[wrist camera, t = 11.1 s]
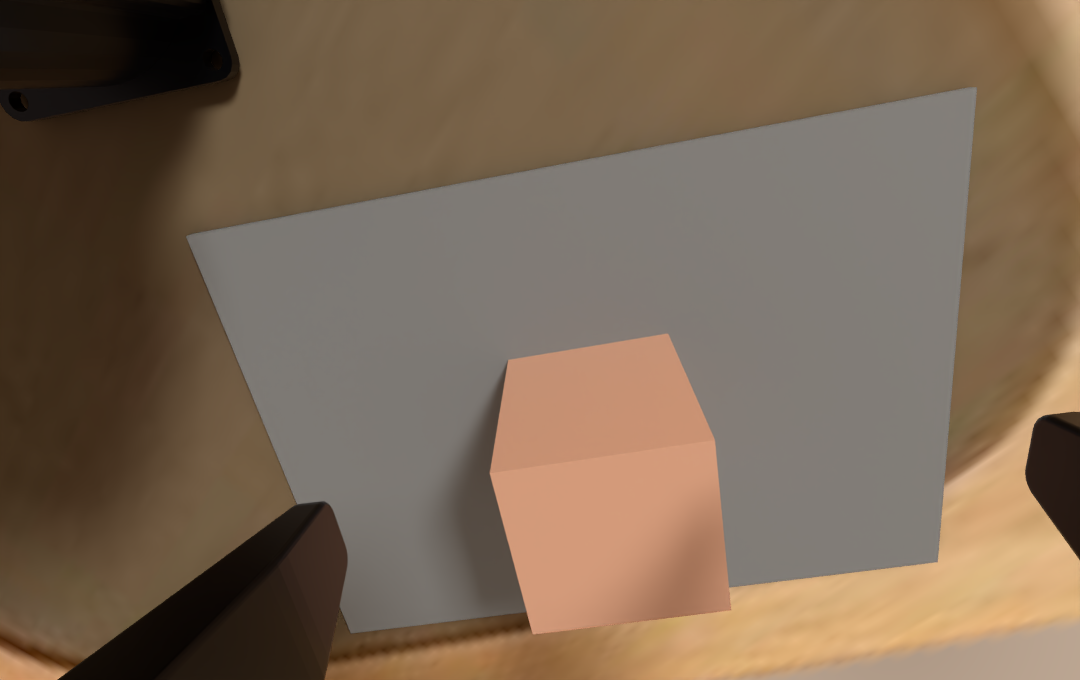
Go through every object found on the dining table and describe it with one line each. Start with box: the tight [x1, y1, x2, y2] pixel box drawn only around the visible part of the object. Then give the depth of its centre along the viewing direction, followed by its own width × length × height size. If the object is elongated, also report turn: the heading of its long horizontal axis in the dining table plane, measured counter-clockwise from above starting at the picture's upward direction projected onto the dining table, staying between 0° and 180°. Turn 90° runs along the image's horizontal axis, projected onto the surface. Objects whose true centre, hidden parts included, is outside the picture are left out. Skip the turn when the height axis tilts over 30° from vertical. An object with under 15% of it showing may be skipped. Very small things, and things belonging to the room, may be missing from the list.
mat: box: [186, 87, 977, 633], centre depth 20 cm, size 22×16×1 cm
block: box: [490, 334, 731, 634], centre depth 17 cm, size 5×5×6 cm
